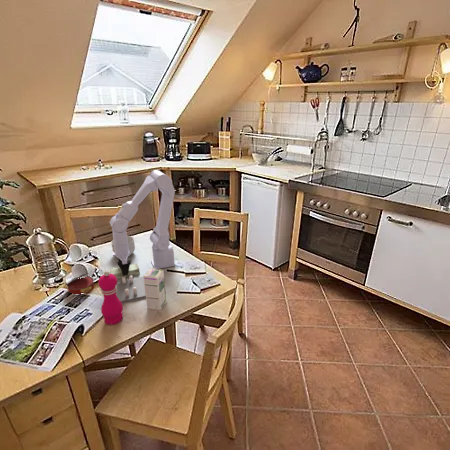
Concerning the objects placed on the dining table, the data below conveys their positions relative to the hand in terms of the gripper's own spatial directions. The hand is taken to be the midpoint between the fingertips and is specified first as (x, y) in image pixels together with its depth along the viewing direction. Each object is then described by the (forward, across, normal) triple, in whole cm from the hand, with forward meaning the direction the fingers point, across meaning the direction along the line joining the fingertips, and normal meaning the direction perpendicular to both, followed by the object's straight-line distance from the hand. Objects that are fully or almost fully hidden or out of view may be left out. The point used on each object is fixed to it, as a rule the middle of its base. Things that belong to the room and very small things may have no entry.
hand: (124, 270), depth 139 cm
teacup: (+2, -20, +3) cm, 20 cm away
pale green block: (+2, 0, 0) cm, 2 cm away
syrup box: (+2, +27, +8) cm, 28 cm away
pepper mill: (+2, +29, -8) cm, 30 cm away
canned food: (+2, +4, -18) cm, 18 cm away
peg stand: (+2, +14, 0) cm, 14 cm away
